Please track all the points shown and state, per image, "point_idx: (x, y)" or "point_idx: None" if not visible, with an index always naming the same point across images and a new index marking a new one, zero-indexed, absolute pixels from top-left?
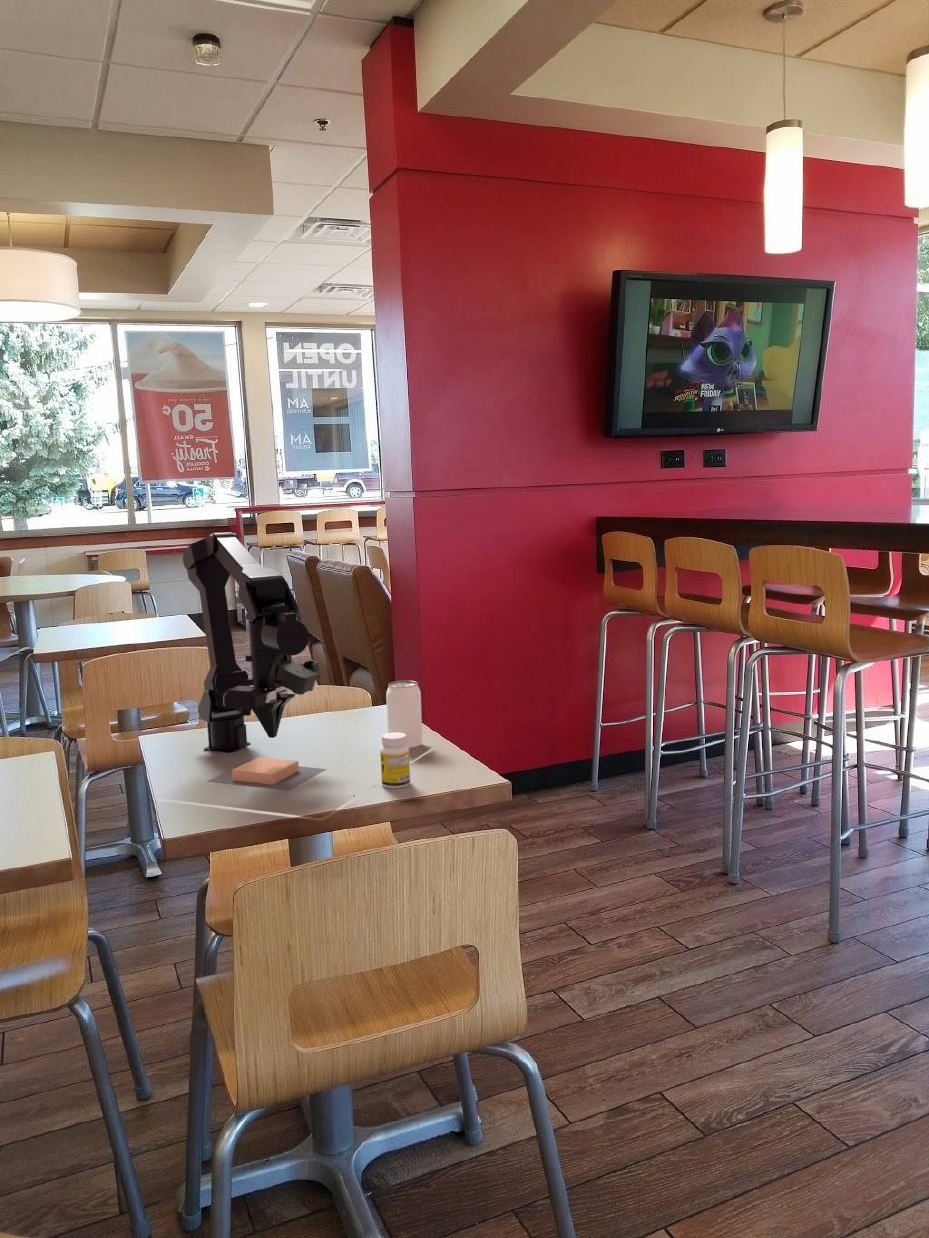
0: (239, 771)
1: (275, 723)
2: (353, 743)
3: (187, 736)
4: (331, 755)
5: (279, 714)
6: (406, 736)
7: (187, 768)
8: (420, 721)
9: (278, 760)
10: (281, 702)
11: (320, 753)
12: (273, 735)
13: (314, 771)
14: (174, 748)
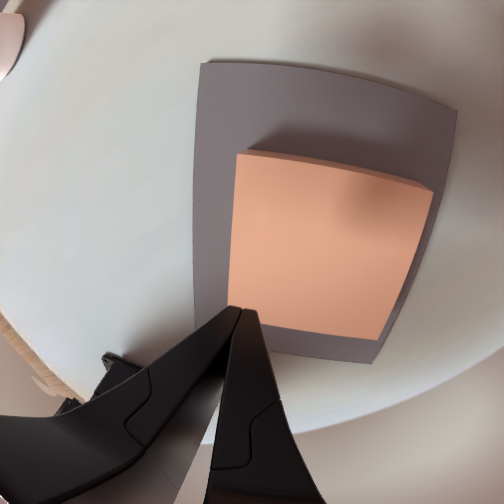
0: (387, 316)
1: (238, 366)
2: (10, 157)
3: None
4: (70, 149)
5: (167, 400)
6: (4, 18)
7: None
8: None
9: (250, 239)
10: (104, 493)
11: (67, 189)
12: (258, 318)
13: (238, 88)
14: None
